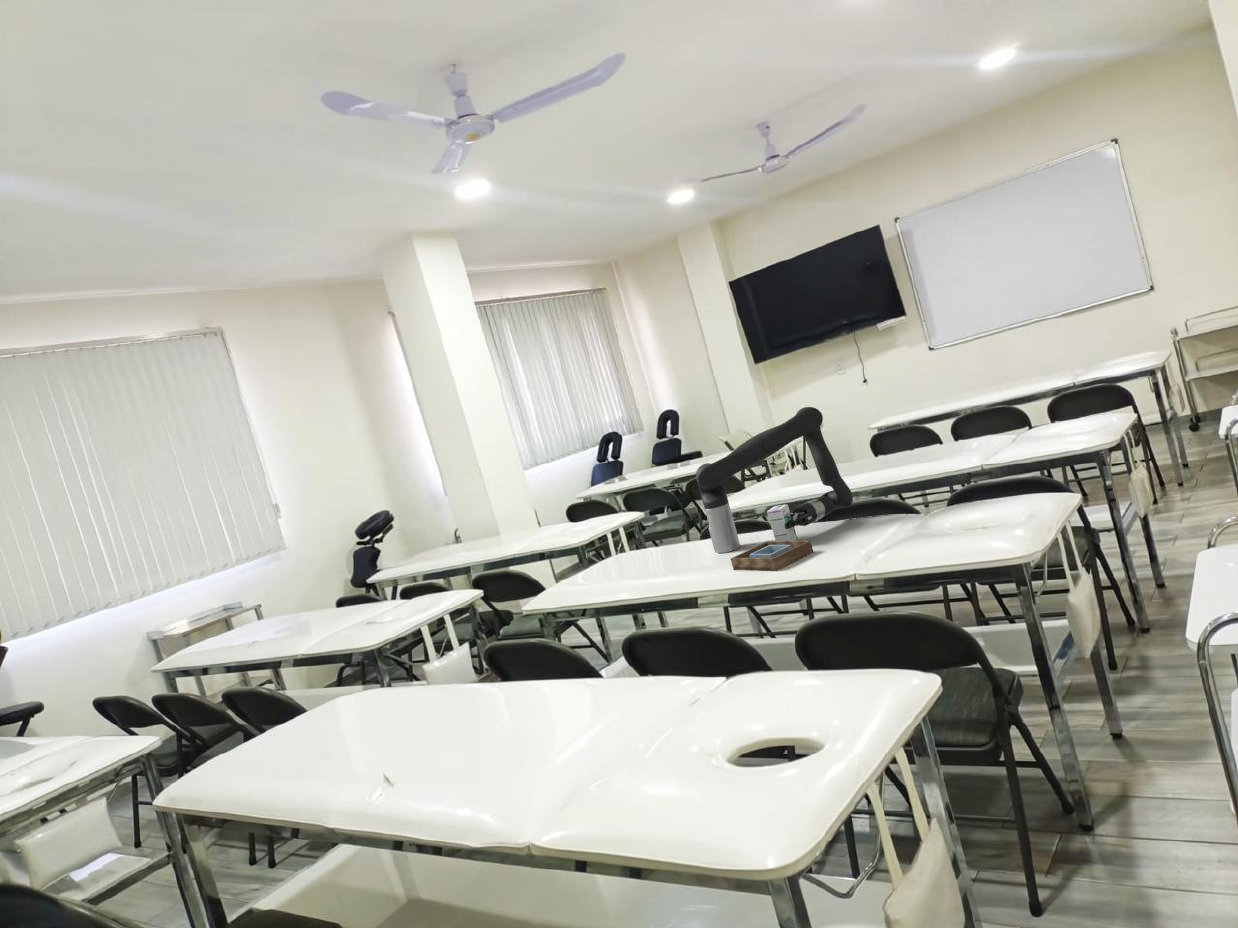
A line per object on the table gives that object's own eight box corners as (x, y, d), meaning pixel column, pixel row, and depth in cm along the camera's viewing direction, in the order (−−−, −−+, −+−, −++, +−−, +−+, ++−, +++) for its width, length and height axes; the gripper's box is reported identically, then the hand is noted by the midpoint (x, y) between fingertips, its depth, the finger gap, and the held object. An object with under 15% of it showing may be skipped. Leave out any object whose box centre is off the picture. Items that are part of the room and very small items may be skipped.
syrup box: (792, 548, 280) (781, 507, 279) (777, 550, 284) (766, 510, 283) (799, 543, 285) (788, 503, 284) (784, 544, 288) (773, 505, 287)
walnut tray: (733, 569, 273) (730, 558, 273) (770, 552, 283) (767, 541, 283) (776, 571, 257) (772, 558, 257) (813, 552, 267) (810, 540, 267)
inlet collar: (751, 563, 271) (749, 554, 271) (771, 553, 277) (769, 544, 277) (772, 563, 263) (770, 554, 263) (793, 553, 269) (791, 544, 268)
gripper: (792, 503, 297) (760, 517, 288) (821, 501, 285) (790, 515, 276) (797, 522, 298) (766, 537, 289) (827, 521, 286) (795, 536, 277)
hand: (778, 526), depth 282 cm, fingers closed on syrup box, 7 cm apart
